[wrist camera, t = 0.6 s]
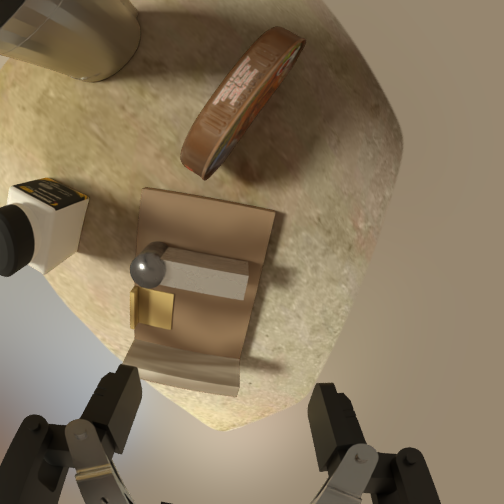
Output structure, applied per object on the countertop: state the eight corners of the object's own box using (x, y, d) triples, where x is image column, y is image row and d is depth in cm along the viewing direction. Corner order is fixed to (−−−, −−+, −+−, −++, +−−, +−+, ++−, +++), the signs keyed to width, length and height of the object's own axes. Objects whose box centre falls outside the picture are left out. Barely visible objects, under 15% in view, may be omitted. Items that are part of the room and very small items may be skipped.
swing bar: (142, 267, 28) (129, 284, 24) (144, 238, 26) (130, 252, 23) (242, 287, 29) (242, 307, 25) (248, 258, 28) (249, 275, 24)
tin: (213, 178, 26) (201, 188, 19) (186, 161, 26) (163, 165, 18) (299, 61, 23) (320, 28, 15) (272, 44, 22) (284, 6, 14)
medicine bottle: (91, 196, 26) (20, 224, 15) (77, 252, 28) (17, 299, 17) (47, 176, 25) (-25, 195, 14) (37, 230, 27) (-27, 265, 16)
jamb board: (146, 187, 26) (122, 196, 21) (274, 210, 28) (282, 224, 22) (137, 343, 33) (123, 374, 27) (237, 363, 34) (236, 397, 28)
